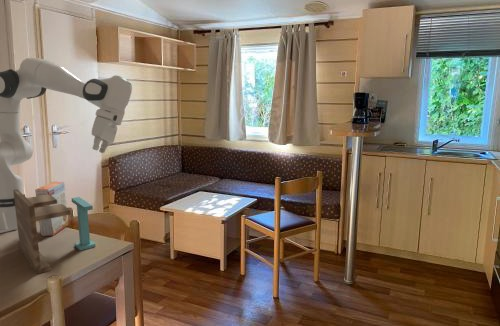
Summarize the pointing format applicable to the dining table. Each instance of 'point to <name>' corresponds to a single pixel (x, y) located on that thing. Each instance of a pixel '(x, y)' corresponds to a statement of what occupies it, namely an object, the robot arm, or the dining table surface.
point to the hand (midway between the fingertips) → (98, 151)
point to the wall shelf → (34, 225)
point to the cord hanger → (83, 223)
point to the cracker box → (58, 192)
